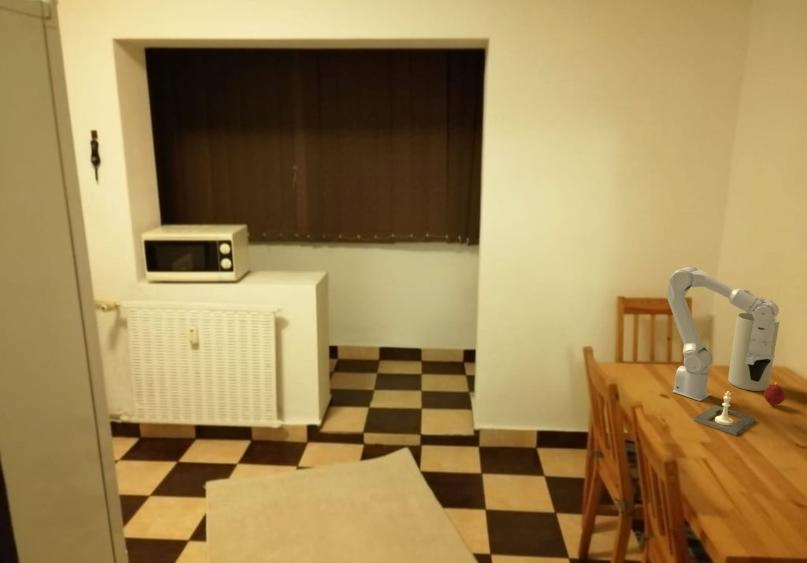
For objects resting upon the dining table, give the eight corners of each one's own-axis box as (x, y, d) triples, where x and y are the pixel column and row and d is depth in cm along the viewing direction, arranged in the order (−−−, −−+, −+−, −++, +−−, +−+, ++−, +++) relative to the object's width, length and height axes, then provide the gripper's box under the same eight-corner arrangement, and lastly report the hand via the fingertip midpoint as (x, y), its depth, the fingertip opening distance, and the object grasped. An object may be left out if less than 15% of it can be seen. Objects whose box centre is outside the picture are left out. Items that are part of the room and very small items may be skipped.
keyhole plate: (714, 407, 181) (715, 404, 181) (755, 421, 172) (756, 418, 172) (694, 420, 173) (694, 417, 172) (735, 435, 163) (736, 432, 163)
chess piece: (711, 418, 174) (715, 388, 172) (726, 417, 175) (730, 387, 172) (721, 425, 170) (725, 395, 167) (736, 425, 170) (741, 394, 168)
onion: (786, 410, 180) (790, 387, 178) (766, 408, 181) (770, 385, 179) (778, 402, 185) (782, 380, 184) (759, 400, 187) (763, 378, 185)
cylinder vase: (763, 380, 203) (773, 314, 198) (772, 394, 192) (784, 324, 186) (724, 375, 207) (733, 311, 202) (731, 389, 196) (741, 320, 190)
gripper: (766, 348, 167) (760, 390, 170) (784, 338, 175) (778, 378, 178) (741, 341, 172) (735, 383, 175) (759, 332, 181) (753, 372, 184)
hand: (755, 380), depth 177 cm, fingers closed
